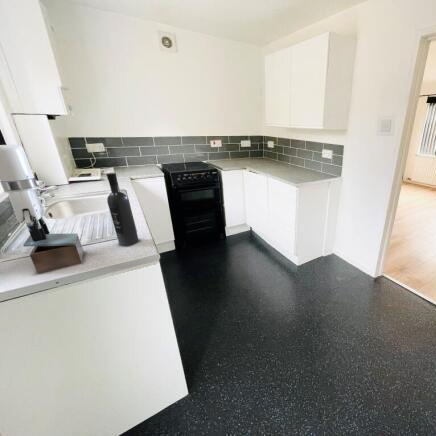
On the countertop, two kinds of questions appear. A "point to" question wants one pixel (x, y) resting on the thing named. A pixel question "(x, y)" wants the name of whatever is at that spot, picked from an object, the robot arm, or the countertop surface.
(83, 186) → the countertop surface
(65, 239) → the lid
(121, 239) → the wine bottle
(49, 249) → the chest
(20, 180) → the robot arm
